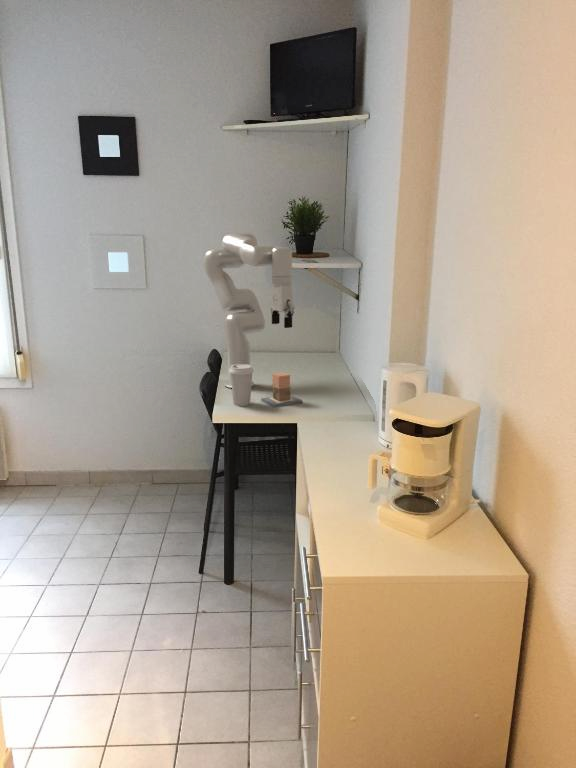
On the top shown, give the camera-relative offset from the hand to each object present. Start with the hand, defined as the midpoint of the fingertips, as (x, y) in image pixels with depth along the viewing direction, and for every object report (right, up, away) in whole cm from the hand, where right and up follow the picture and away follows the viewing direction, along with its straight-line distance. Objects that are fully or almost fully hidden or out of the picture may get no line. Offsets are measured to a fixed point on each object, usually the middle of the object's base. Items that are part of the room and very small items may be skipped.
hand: (281, 325), depth 250 cm
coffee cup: (-16, -30, +5) cm, 34 cm away
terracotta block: (0, -23, +6) cm, 24 cm away
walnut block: (0, -28, +7) cm, 29 cm away
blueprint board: (0, -29, +8) cm, 30 cm away
